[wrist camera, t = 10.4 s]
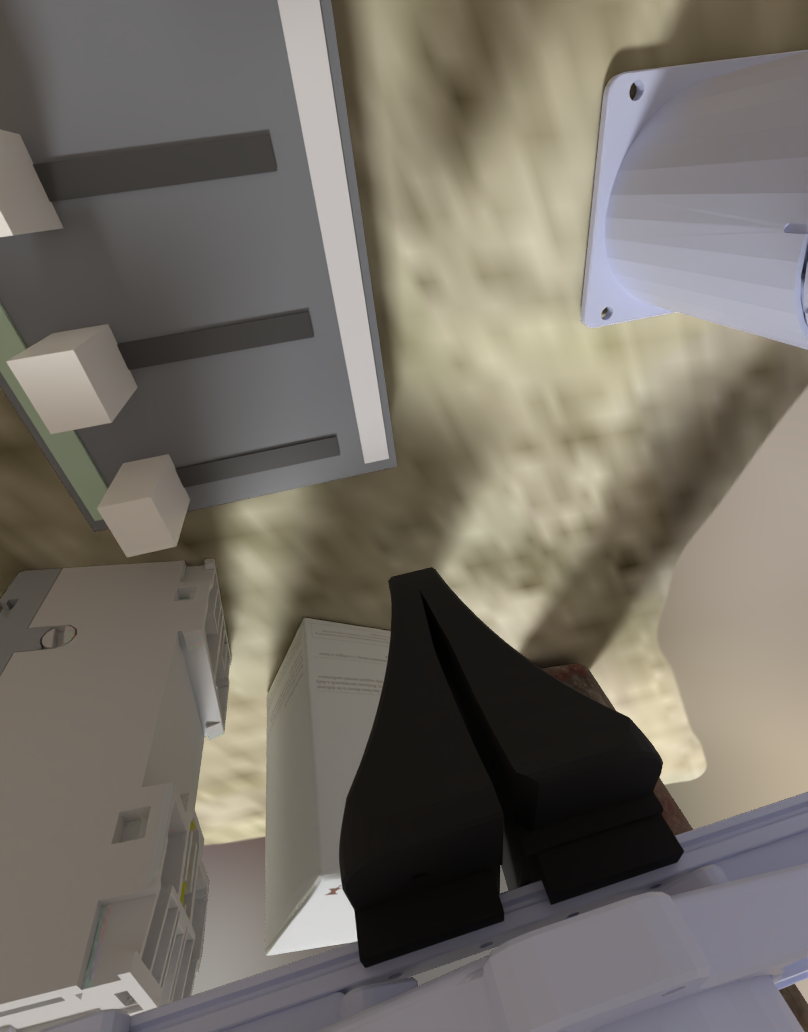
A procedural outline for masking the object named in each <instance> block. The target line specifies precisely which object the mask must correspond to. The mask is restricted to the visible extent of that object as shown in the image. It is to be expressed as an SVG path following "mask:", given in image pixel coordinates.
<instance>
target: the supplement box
mask: <svg viewBox="0 0 808 1032" xmlns="http://www.w3.org/2000/svg"><path fill="white" fill-rule="evenodd" d="M390 636H391V631H387V630H381V629H375V628H368V627H361V626H355V625H348V624H342V623H336V622H329V621H323V620H316V619H311V618H304V619H303V620H302V622H301V624H300V626H299V629H298V631H297V632H296V635H295V637H294V639H293V641H292V643H291V645H290V647H289V649H288V652H287V654H286V656H285V658H284V660H283V662H282V664H281V666H280V669H279V671H278V673H277V675H276V677H275V679H274V682H273V683H272V686H271V688H270V690H269V692H268V695H267V751H266V756H267V763H266V880H265V885H266V886H265V892H266V893H265V953H266V955H276V954H281V953H287V952H293V951H300V950H306V949H312V948H318V947H324V946H331V945H338V944H344V943H351V942H356V941H358V940H357V931H356V922H355V912H354V909H353V907H352V905H351V904H350V902H349V900H348V898H347V897H346V895H345V893H344V891H343V889H342V883H341V874H340V865H339V843H340V833H341V826H342V820H343V814H344V809H345V803H346V798H347V795H348V793H349V790H350V788H351V785H352V783H353V780H354V778H355V775H356V773H357V770H358V768H359V765H360V762H361V760H362V757H363V754H364V751H365V748H366V745H367V742H368V739H369V736H370V732H371V729H372V726H373V723H374V719H375V716H376V712H377V708H378V704H379V700H380V696H381V692H382V687H383V683H384V678H385V672H386V667H387V661H388V653H389V645H390Z"/></svg>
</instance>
